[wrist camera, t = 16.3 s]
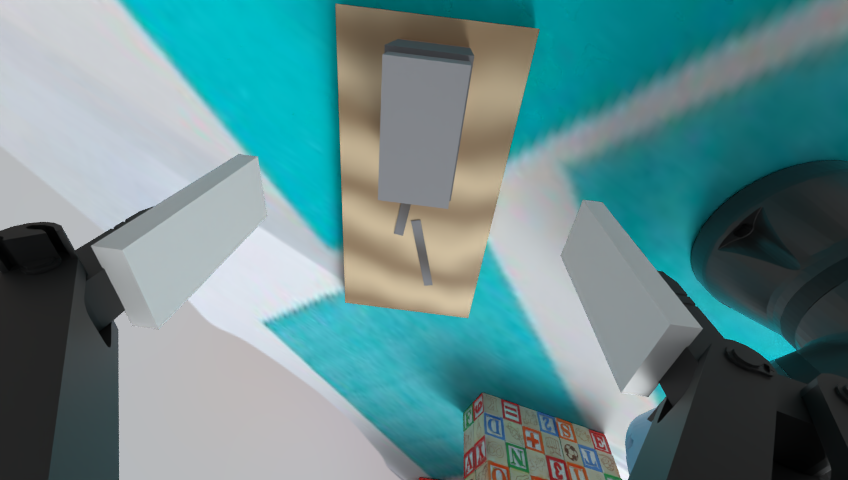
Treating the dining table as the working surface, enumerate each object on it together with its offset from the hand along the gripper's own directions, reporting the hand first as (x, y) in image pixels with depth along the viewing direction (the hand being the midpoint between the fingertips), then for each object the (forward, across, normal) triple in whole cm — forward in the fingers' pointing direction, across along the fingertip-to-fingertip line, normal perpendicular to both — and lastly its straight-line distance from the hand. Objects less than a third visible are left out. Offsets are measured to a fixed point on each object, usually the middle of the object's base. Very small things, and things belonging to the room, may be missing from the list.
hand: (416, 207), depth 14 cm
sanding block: (+15, -1, +1) cm, 15 cm away
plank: (+17, -1, -7) cm, 18 cm away
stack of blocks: (+18, +20, -43) cm, 51 cm away
